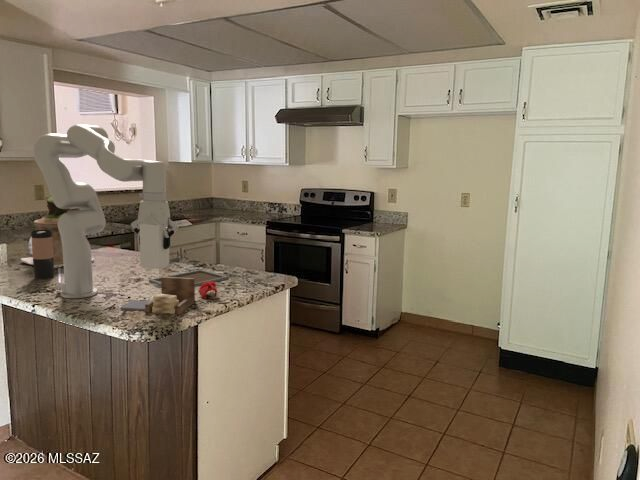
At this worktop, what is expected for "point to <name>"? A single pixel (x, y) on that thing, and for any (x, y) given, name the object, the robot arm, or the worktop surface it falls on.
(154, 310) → the offcut low
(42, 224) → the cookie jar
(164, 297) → the offcut top
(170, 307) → the offcut mid
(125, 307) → the pad
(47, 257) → the travel mug
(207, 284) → the red rounded piece
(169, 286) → the rack
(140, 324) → the worktop surface
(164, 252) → the milk carton
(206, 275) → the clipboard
